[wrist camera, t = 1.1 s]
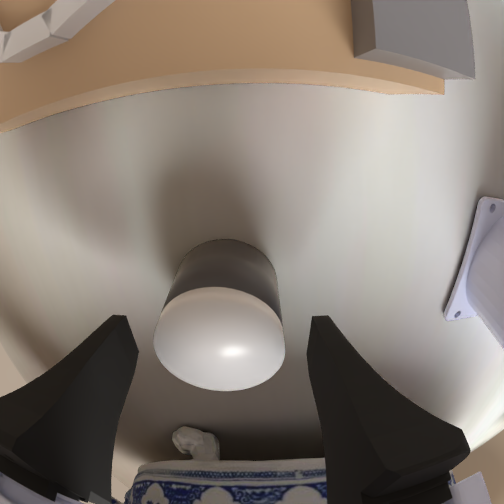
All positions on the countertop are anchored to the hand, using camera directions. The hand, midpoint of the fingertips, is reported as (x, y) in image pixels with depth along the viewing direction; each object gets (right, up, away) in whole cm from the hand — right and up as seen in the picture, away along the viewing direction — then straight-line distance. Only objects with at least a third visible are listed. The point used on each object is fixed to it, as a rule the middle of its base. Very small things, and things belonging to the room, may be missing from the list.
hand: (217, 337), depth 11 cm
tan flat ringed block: (-2, +15, -4) cm, 16 cm away
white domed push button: (0, +2, +3) cm, 4 cm away
